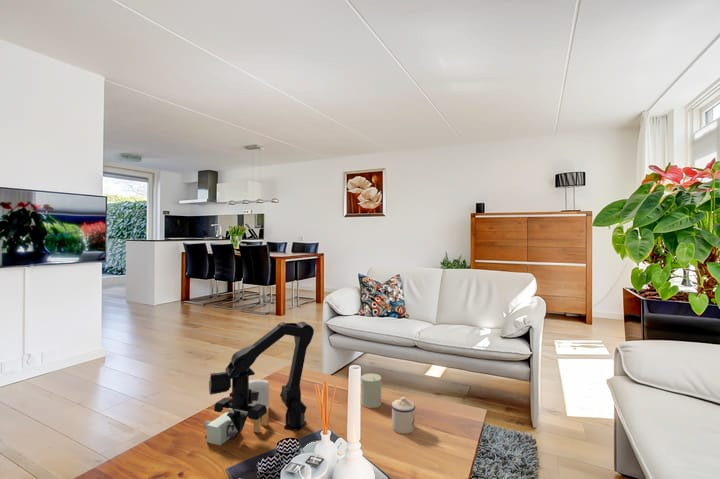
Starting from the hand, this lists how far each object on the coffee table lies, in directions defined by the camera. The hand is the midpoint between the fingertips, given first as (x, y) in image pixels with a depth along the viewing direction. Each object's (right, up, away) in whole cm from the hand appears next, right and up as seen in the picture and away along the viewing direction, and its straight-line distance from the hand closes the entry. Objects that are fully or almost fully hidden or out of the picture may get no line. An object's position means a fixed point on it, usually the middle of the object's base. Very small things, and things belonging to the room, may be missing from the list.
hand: (240, 431), depth 125 cm
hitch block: (-7, -3, +2) cm, 8 cm away
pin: (-8, -2, +3) cm, 9 cm away
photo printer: (-1, -3, +23) cm, 23 cm away
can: (+48, -4, +30) cm, 56 cm away
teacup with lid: (+59, -4, +11) cm, 61 cm away
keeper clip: (+5, -3, +8) cm, 10 cm away
